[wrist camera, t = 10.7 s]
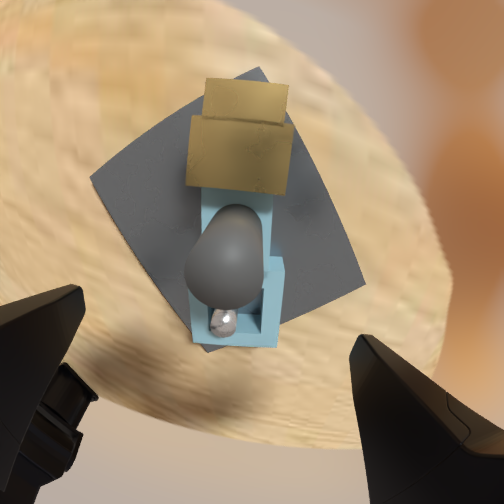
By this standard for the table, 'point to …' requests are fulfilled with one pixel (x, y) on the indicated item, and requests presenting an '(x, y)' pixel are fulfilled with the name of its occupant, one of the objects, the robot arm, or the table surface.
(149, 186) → the base plate
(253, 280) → the link
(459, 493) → the robot arm
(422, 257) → the table surface
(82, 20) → the table surface
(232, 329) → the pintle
